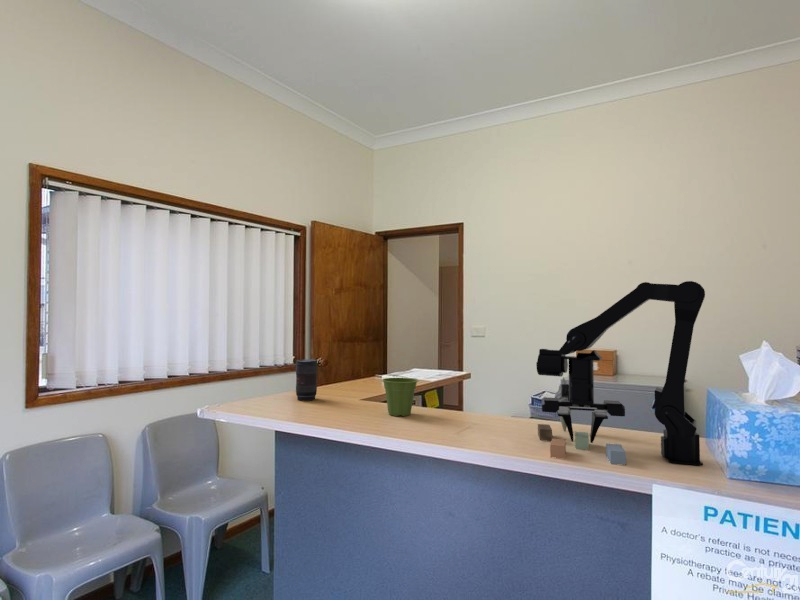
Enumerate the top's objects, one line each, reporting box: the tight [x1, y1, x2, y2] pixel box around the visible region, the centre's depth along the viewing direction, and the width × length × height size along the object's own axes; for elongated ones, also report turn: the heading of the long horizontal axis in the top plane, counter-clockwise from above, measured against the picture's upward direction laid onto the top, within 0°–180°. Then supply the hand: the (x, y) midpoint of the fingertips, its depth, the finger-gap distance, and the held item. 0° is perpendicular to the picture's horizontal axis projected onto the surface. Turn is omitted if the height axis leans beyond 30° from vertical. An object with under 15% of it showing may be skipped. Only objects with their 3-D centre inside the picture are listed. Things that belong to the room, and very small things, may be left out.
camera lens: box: [295, 358, 318, 401], centre depth 176 cm, size 8×8×15 cm
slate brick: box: [605, 443, 627, 465], centre depth 101 cm, size 3×6×3 cm, turn 164°
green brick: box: [574, 430, 590, 451], centre depth 113 cm, size 3×6×3 cm, turn 159°
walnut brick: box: [537, 423, 553, 442], centre depth 121 cm, size 3×6×3 cm, turn 168°
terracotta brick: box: [549, 437, 567, 459], centre depth 106 cm, size 3×6×3 cm, turn 158°
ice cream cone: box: [554, 376, 572, 432], centre depth 128 cm, size 5×5×15 cm
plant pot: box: [381, 377, 419, 417], centre depth 149 cm, size 12×12×11 cm
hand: (581, 441), depth 113 cm, fingers open, 4 cm apart
